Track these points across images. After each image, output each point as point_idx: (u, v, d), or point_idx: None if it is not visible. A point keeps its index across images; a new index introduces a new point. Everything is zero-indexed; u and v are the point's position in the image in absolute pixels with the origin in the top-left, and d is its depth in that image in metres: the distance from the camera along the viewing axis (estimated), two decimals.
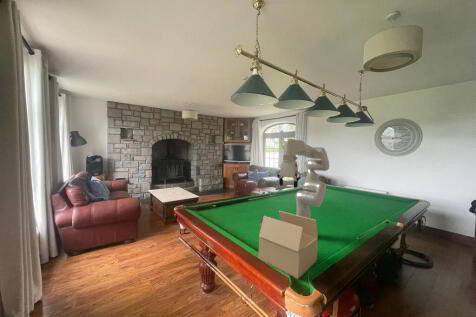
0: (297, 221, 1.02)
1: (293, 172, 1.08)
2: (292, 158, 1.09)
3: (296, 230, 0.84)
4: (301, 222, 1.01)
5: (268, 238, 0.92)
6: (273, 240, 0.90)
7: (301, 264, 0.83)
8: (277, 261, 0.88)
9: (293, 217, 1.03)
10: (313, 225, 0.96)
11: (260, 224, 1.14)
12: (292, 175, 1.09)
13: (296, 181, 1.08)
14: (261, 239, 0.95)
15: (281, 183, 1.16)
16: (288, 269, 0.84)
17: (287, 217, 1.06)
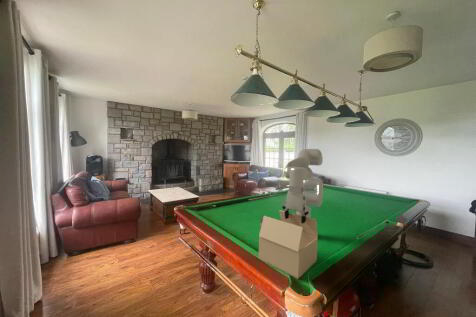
0: (297, 221, 1.02)
1: (301, 206, 0.97)
2: (299, 190, 0.98)
3: (296, 230, 0.84)
4: None
5: (268, 238, 0.92)
6: (273, 240, 0.90)
7: (301, 264, 0.83)
8: (277, 261, 0.88)
9: (293, 217, 1.04)
10: (314, 225, 0.96)
11: (260, 224, 1.14)
12: (299, 209, 0.97)
13: (304, 216, 0.96)
14: (261, 239, 0.95)
15: (287, 216, 1.04)
16: (288, 269, 0.84)
17: None
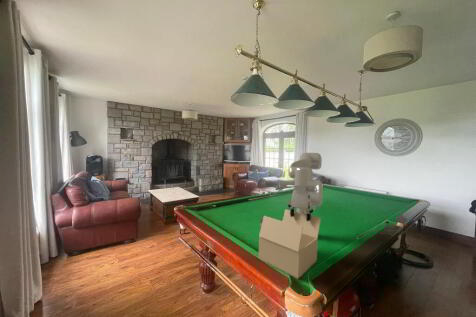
0: (301, 219, 1.06)
1: (306, 204, 1.01)
2: (305, 189, 1.02)
3: (296, 230, 0.84)
4: (305, 221, 1.04)
5: (268, 238, 0.92)
6: (273, 240, 0.90)
7: (301, 264, 0.83)
8: (277, 261, 0.88)
9: (298, 215, 1.08)
10: (317, 223, 1.00)
11: (260, 224, 1.14)
12: (305, 207, 1.02)
13: (309, 214, 1.01)
14: (261, 239, 0.95)
15: (292, 214, 1.08)
16: (288, 269, 0.84)
17: None
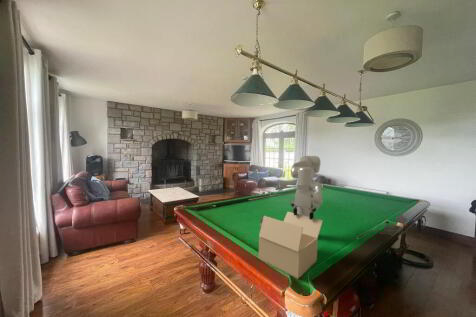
0: (302, 221, 1.07)
1: (309, 203, 1.04)
2: (308, 188, 1.05)
3: (296, 230, 0.84)
4: (306, 222, 1.06)
5: (268, 238, 0.92)
6: (273, 240, 0.90)
7: (301, 264, 0.83)
8: (277, 261, 0.88)
9: (300, 217, 1.10)
10: (318, 225, 1.01)
11: (260, 224, 1.14)
12: (308, 206, 1.04)
13: (312, 213, 1.04)
14: (261, 239, 0.95)
15: (295, 213, 1.11)
16: (288, 269, 0.84)
17: (293, 217, 1.12)
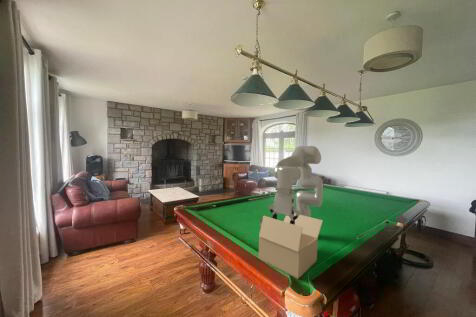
0: (302, 221, 1.07)
1: (289, 209, 0.87)
2: (288, 192, 0.88)
3: (295, 230, 0.84)
4: (306, 222, 1.06)
5: (268, 238, 0.92)
6: (273, 240, 0.90)
7: (301, 264, 0.83)
8: (277, 261, 0.88)
9: (300, 217, 1.10)
10: (318, 225, 1.01)
11: (260, 224, 1.14)
12: (288, 213, 0.88)
13: (293, 221, 0.87)
14: (261, 239, 0.95)
15: None
16: (288, 269, 0.84)
17: None
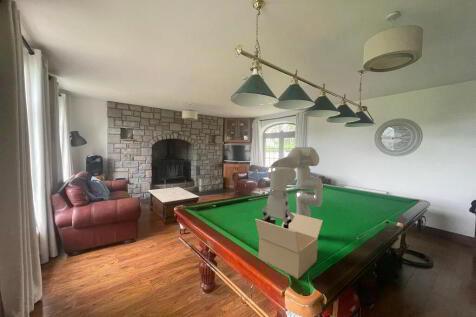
0: (302, 221, 1.07)
1: (282, 213, 0.83)
2: (281, 194, 0.84)
3: (290, 235, 0.80)
4: (306, 222, 1.06)
5: (267, 239, 0.91)
6: (272, 241, 0.89)
7: (301, 264, 0.83)
8: (277, 261, 0.88)
9: (300, 217, 1.10)
10: (318, 225, 1.01)
11: None
12: (281, 217, 0.83)
13: (286, 225, 0.83)
14: (261, 239, 0.95)
15: None
16: (288, 269, 0.84)
17: None
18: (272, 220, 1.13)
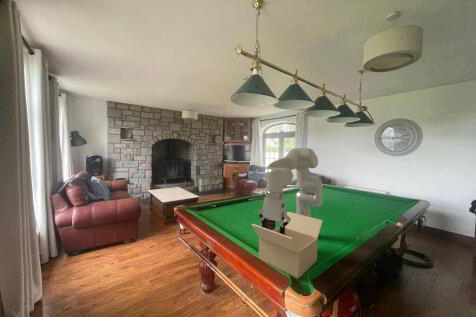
0: (302, 221, 1.07)
1: (279, 215, 0.81)
2: (277, 196, 0.82)
3: (287, 240, 0.79)
4: (306, 222, 1.06)
5: (267, 240, 0.91)
6: (272, 242, 0.89)
7: (301, 264, 0.83)
8: (277, 261, 0.88)
9: (300, 217, 1.10)
10: (318, 225, 1.01)
11: (260, 224, 1.14)
12: (277, 219, 0.81)
13: (283, 227, 0.81)
14: (261, 239, 0.95)
15: (264, 226, 0.88)
16: (288, 269, 0.84)
17: (293, 217, 1.12)
18: (272, 220, 1.13)
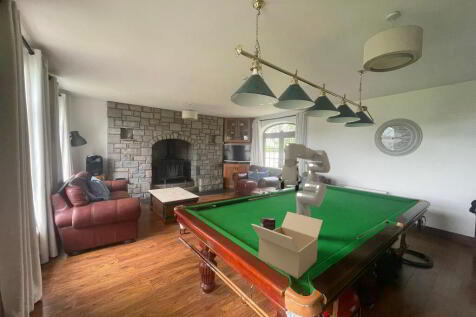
0: (302, 221, 1.07)
1: (294, 176, 1.10)
2: (293, 162, 1.11)
3: (287, 240, 0.79)
4: (306, 222, 1.06)
5: (267, 240, 0.91)
6: (272, 242, 0.89)
7: (301, 264, 0.83)
8: (277, 261, 0.88)
9: (300, 217, 1.10)
10: (318, 225, 1.01)
11: (260, 224, 1.14)
12: (293, 179, 1.10)
13: (297, 185, 1.10)
14: (261, 239, 0.95)
15: (282, 187, 1.17)
16: (288, 269, 0.84)
17: (293, 217, 1.12)
18: (272, 220, 1.13)
